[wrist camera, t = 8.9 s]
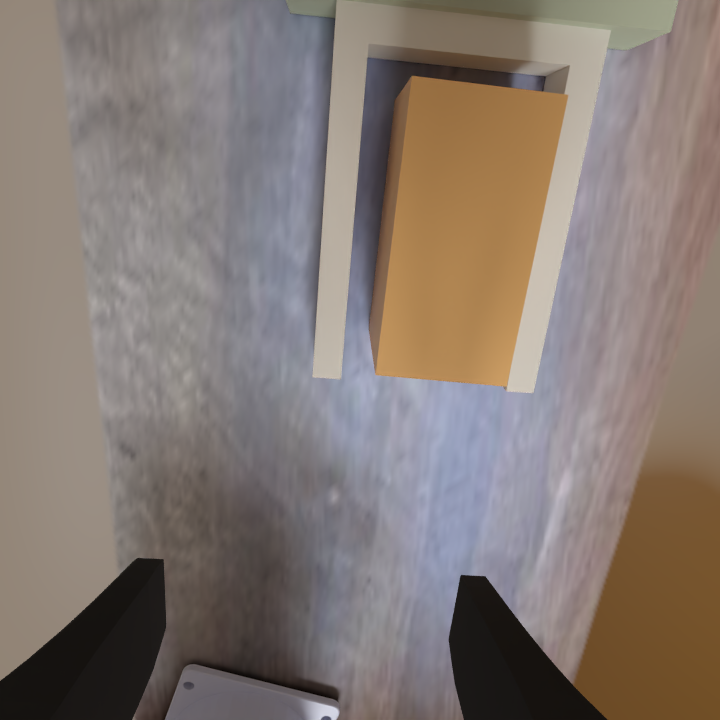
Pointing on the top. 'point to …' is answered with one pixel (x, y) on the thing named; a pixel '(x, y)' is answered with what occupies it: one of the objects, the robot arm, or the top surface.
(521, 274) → the chute block
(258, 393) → the top surface
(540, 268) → the green base with dome
